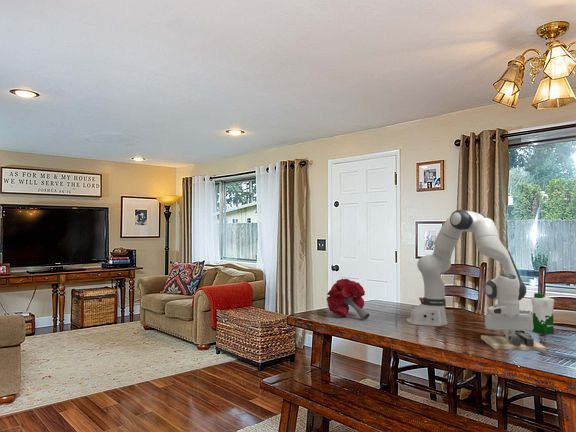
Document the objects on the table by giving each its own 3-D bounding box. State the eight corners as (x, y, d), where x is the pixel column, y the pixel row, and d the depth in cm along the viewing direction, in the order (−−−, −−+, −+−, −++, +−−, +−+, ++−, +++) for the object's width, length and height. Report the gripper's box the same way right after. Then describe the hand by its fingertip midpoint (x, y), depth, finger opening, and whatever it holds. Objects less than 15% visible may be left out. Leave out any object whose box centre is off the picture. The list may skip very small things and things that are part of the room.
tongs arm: (507, 337, 199) (507, 331, 199) (513, 338, 198) (513, 331, 198) (514, 344, 187) (514, 338, 187) (520, 345, 186) (520, 338, 186)
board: (494, 348, 187) (494, 345, 187) (480, 338, 204) (480, 335, 204) (546, 351, 184) (546, 347, 184) (528, 340, 202) (528, 337, 202)
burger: (499, 335, 212) (499, 320, 212) (513, 333, 217) (513, 318, 218) (522, 341, 201) (522, 325, 201) (536, 338, 207) (536, 323, 207)
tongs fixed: (505, 336, 202) (505, 327, 202) (517, 337, 201) (517, 327, 201) (520, 346, 186) (520, 335, 186) (533, 346, 185) (533, 336, 185)
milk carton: (539, 329, 224) (539, 292, 225) (556, 333, 216) (556, 295, 217) (529, 331, 220) (529, 293, 221) (546, 335, 212) (546, 296, 213)
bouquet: (371, 327, 254) (339, 297, 273) (385, 297, 245) (351, 268, 264) (348, 335, 240) (316, 303, 260) (362, 303, 231) (328, 273, 251)
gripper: (529, 309, 194) (530, 339, 193) (483, 307, 196) (483, 337, 196) (535, 311, 187) (536, 342, 187) (487, 309, 190) (488, 340, 190)
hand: (509, 339), depth 191 cm, fingers closed
